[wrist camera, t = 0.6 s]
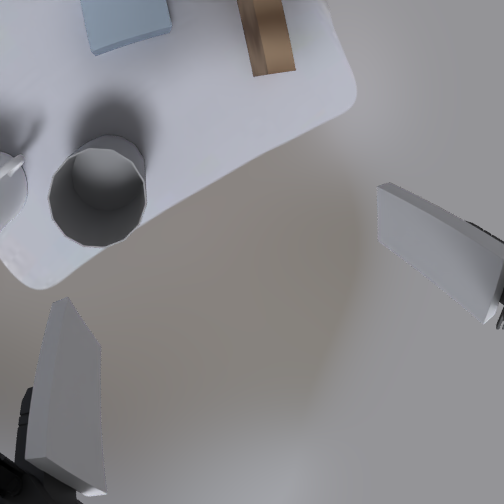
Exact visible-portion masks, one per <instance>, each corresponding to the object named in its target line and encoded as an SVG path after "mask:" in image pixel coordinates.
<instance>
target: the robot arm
mask: <svg viewBox="0 0 504 504" xmlns="http://www.w3.org/2000/svg"><path fill="white" fill-rule="evenodd" d="M377 208H378V241H379V242H380V243H381V244H383V245H384V246H385V247H387V248H388V249H389V250H391V251H392V252H393V253H395V254H396V255H397V256H399V257H400V258H402V259H403V260H404V261H405V262H407V263H408V264H409V265H411V266H412V267H414V268H415V269H416V270H417V271H419V272H420V273H421V274H422V275H424V276H425V277H426V278H428V279H429V280H430V281H431V282H433V283H434V284H435V285H436V286H438V287H439V288H440V289H441V290H442V291H444V292H445V293H446V294H448V295H449V296H450V297H451V298H452V299H454V300H455V301H456V302H457V303H458V304H460V305H461V306H462V307H463V308H465V309H466V310H467V311H468V312H469V313H470V314H471V315H473V316H474V317H475V318H476V319H477V320H479V321H480V322H481V323H482V324H484V323H486V322H487V321H488V320H489V319H490V318H491V317H492V316H494V315H495V312H496V309H497V306H498V304H499V302H500V303H502V304H503V305H504V241H502V240H500V239H498V238H497V237H495V236H494V235H491V234H490V233H489V232H487V231H485V230H484V231H483V229H482V228H480V227H479V226H477V225H475V224H473V223H471V222H467V221H464V220H462V219H461V218H459V217H457V216H455V215H453V214H452V213H450V212H448V211H446V210H444V209H442V208H440V207H439V206H437V205H435V204H433V203H431V202H429V201H427V200H425V199H423V198H421V197H419V196H417V195H415V194H413V193H411V192H409V191H407V190H405V189H403V188H401V187H399V186H397V185H395V184H393V183H390V182H389V183H386V184H383V185H380V186H377ZM502 321H504V307H503V310H502V312H501V315H500V317H499V320H498V322H497V325H496V329H499V328H500V325H501V323H502ZM502 329H504V325H503V328H502ZM100 374H101V345H100V344H99V342H98V341H97V340H96V338H95V337H94V335H93V334H92V332H91V331H90V329H89V328H88V326H87V325H86V323H85V322H84V320H83V319H82V318H81V316H80V315H79V313H78V311H77V310H76V308H75V307H74V305H73V303H72V302H71V300H70V299H69V297H66V298H64V299H61V300H59V301H56V302H53V304H52V307H51V311H50V314H49V318H48V322H47V326H46V330H45V333H44V337H43V342H42V346H41V351H40V355H39V360H38V364H37V369H36V375H35V380H34V386H33V387H31V388H28V389H27V392H26V394H25V396H24V398H23V400H22V404H21V410H20V415H21V417H19V424H18V425H19V427H18V432H17V441H16V451H15V463H14V462H13V461H11V460H10V459H8V458H7V457H5V456H4V455H3V454H1V453H0V504H83V503H82V502H80V501H79V500H77V499H76V491H78V492H80V493H82V494H84V495H85V496H95V495H105V494H107V486H106V478H105V468H104V457H103V445H102V428H101V391H100V390H101V388H100V385H101V381H100V380H101V378H100V377H101V375H100Z"/></svg>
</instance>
